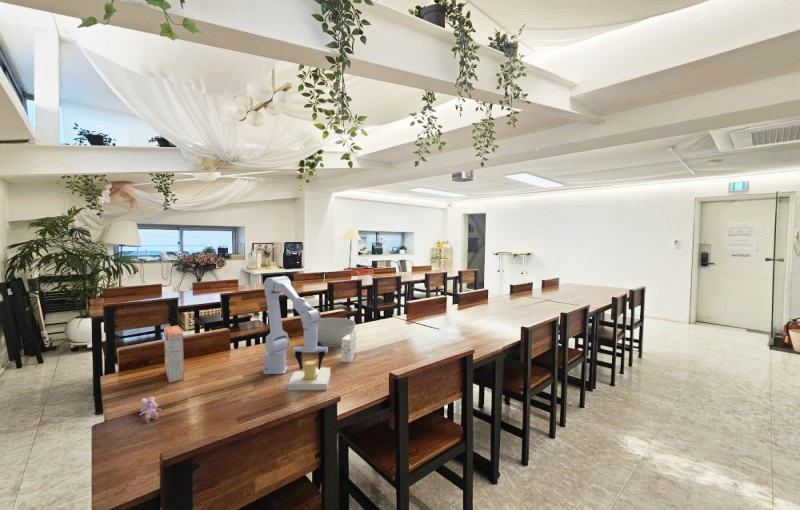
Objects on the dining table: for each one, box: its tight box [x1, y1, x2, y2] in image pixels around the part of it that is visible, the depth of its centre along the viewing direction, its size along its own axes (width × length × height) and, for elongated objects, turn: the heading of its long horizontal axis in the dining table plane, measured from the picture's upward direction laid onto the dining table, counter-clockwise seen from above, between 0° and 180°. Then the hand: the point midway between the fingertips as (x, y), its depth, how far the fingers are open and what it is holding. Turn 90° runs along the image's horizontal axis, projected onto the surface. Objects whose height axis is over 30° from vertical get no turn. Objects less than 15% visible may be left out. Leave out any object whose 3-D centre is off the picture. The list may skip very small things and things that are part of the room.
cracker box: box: [163, 325, 185, 384], centre depth 151 cm, size 14×6×21 cm, turn 39°
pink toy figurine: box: [139, 396, 162, 424], centre depth 122 cm, size 6×6×15 cm
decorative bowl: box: [317, 317, 356, 348], centre depth 201 cm, size 27×27×12 cm
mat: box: [316, 366, 332, 371], centre depth 161 cm, size 8×8×1 cm
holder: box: [287, 370, 332, 391], centre depth 149 cm, size 16×13×2 cm
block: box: [303, 360, 317, 380], centre depth 149 cm, size 4×4×9 cm
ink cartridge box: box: [341, 329, 357, 363], centre depth 177 cm, size 9×5×15 cm, turn 168°
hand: (310, 368), depth 149 cm, fingers open, 7 cm apart
